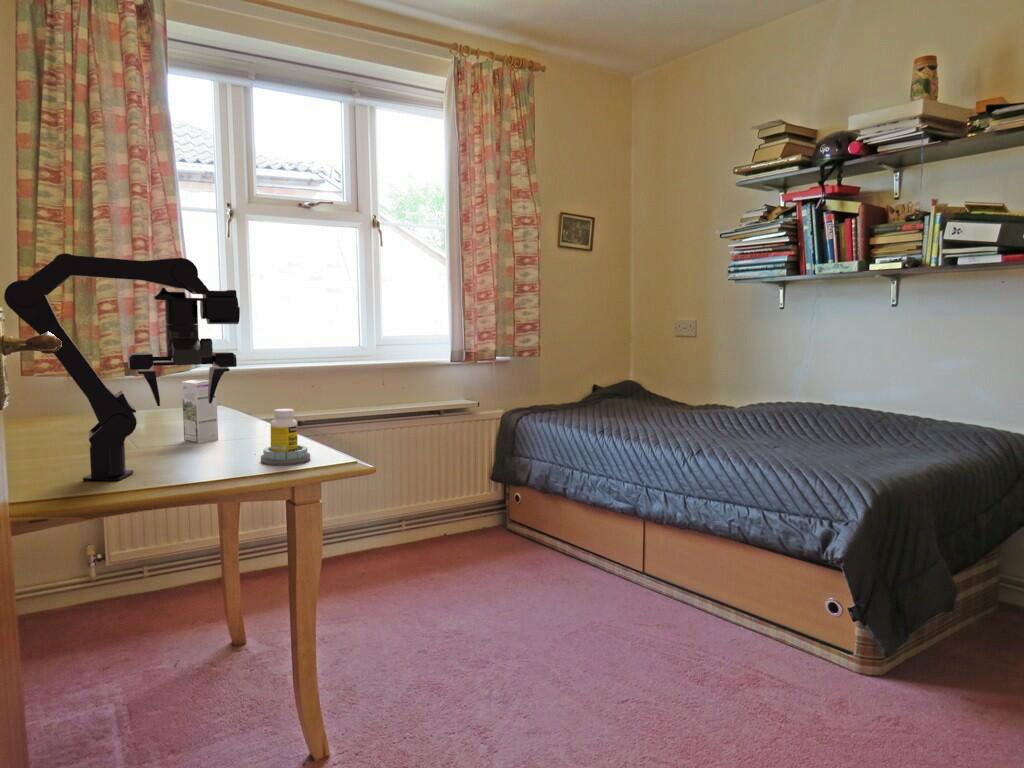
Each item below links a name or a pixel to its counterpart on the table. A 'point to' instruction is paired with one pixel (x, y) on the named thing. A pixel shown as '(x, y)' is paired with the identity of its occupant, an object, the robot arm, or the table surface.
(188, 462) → the table surface
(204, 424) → the syrup box
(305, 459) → the socket plate
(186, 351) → the robot arm
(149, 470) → the table surface
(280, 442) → the supplement bottle
